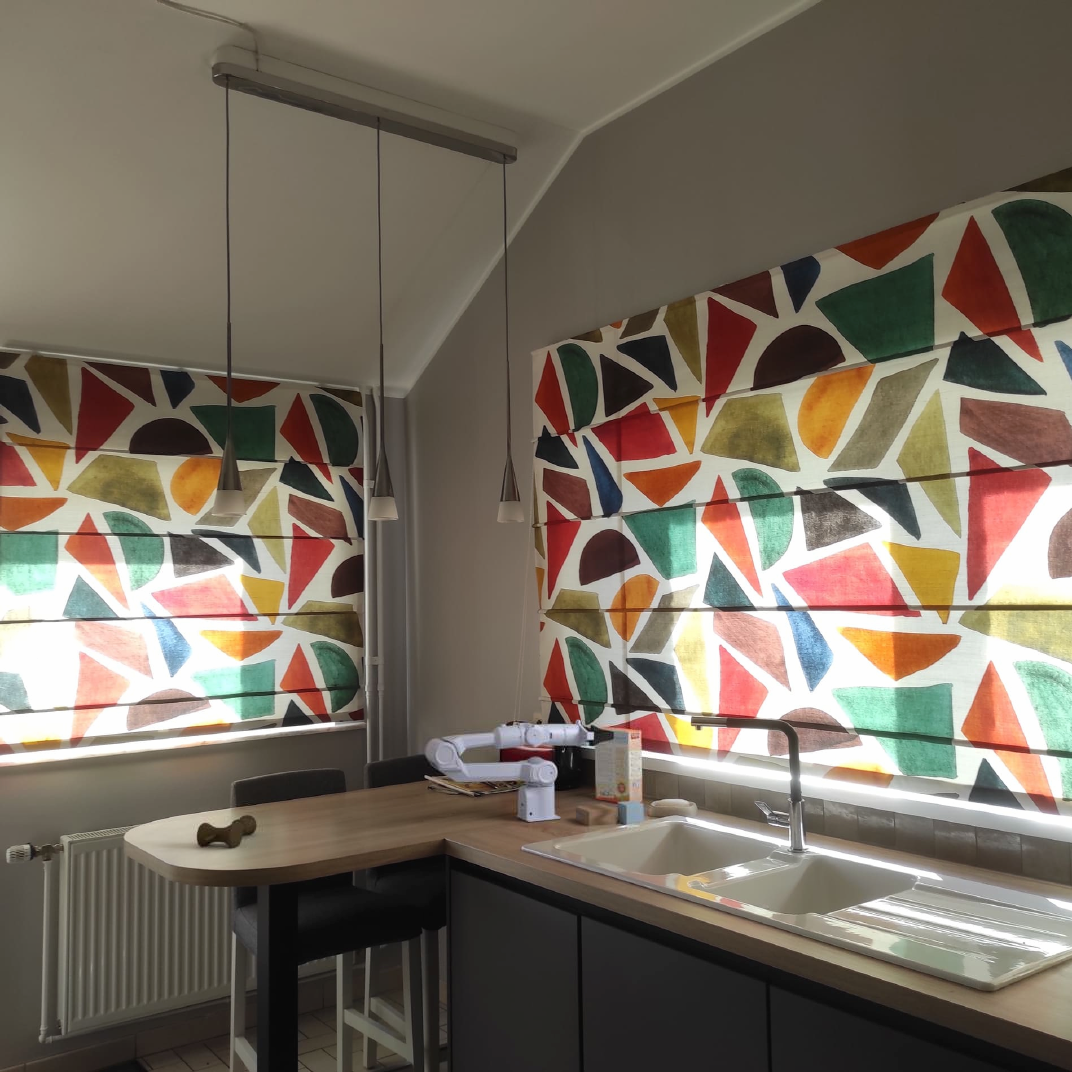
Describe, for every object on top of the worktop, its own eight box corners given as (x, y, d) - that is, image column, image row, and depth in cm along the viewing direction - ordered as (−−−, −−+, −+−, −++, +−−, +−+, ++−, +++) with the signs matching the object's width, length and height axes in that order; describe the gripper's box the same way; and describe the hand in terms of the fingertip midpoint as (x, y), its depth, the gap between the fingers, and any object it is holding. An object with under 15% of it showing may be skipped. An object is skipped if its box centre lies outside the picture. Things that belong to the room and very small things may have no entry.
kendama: (266, 837, 248) (223, 853, 229) (231, 836, 250) (186, 852, 231) (266, 812, 249) (223, 827, 229) (231, 812, 251) (186, 826, 232)
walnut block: (589, 827, 254) (589, 811, 254) (576, 821, 261) (576, 806, 261) (617, 824, 257) (616, 809, 257) (603, 819, 264) (603, 803, 265)
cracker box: (643, 803, 284) (642, 729, 286) (629, 806, 280) (627, 731, 282) (609, 796, 295) (608, 725, 297) (594, 799, 291) (593, 727, 293)
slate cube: (626, 825, 255) (626, 805, 256) (617, 821, 260) (617, 802, 260) (643, 823, 257) (643, 803, 258) (634, 819, 262) (634, 800, 262)
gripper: (572, 720, 263) (618, 721, 267) (552, 718, 276) (597, 719, 281) (571, 747, 261) (618, 747, 266) (552, 744, 275) (596, 744, 280)
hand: (607, 734), depth 273 cm, fingers open, 7 cm apart
